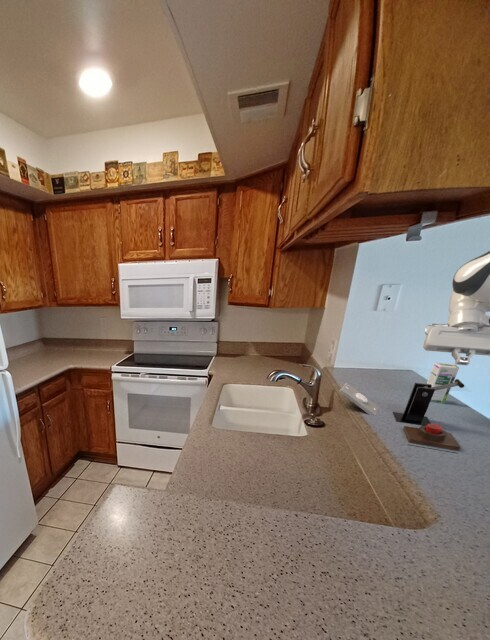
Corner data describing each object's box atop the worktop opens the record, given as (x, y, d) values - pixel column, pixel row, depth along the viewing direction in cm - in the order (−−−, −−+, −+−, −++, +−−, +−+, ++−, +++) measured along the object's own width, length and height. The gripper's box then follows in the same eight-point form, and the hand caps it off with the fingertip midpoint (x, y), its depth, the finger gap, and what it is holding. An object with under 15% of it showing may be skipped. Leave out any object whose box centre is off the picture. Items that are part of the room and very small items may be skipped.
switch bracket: (425, 419, 111) (440, 384, 105) (431, 429, 105) (447, 392, 99) (391, 414, 115) (404, 380, 109) (395, 424, 109) (408, 387, 102)
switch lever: (459, 383, 102) (458, 376, 101) (465, 389, 98) (464, 381, 97) (416, 393, 108) (415, 386, 107) (419, 398, 104) (418, 391, 103)
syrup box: (425, 403, 124) (441, 366, 117) (420, 397, 129) (434, 361, 122) (443, 405, 122) (460, 367, 115) (437, 399, 127) (453, 362, 120)
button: (438, 430, 97) (440, 424, 96) (441, 435, 94) (444, 430, 93) (423, 427, 98) (426, 422, 98) (426, 433, 96) (429, 427, 95)
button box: (448, 439, 100) (453, 427, 98) (457, 453, 92) (463, 441, 90) (401, 432, 104) (406, 420, 102) (407, 445, 97) (412, 433, 95)
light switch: (378, 414, 111) (343, 387, 115) (364, 425, 115) (330, 399, 119) (382, 406, 117) (348, 380, 121) (369, 417, 121) (336, 392, 125)
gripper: (430, 317, 105) (426, 355, 102) (512, 321, 98) (511, 362, 94) (422, 329, 111) (417, 365, 107) (499, 334, 103) (497, 372, 100)
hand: (462, 363), depth 101 cm, fingers closed
